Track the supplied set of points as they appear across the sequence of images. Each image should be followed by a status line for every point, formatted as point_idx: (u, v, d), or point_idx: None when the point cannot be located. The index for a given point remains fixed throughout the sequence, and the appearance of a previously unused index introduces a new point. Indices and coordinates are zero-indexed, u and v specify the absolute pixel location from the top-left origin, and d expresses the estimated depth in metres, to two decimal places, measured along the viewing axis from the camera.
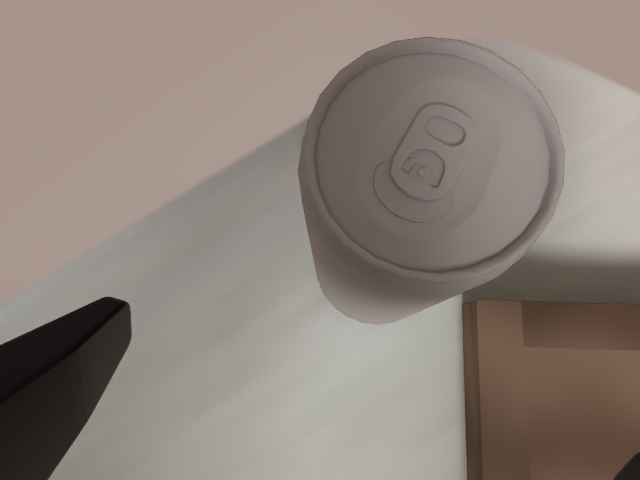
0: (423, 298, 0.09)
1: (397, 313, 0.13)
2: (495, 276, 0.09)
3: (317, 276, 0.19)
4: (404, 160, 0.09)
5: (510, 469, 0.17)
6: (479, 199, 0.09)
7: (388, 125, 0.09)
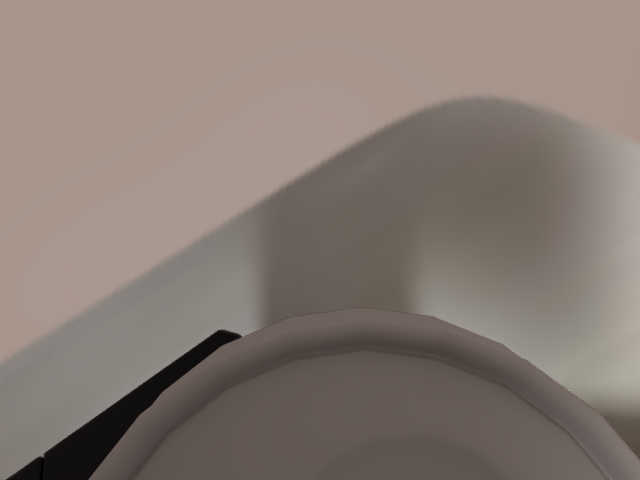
0: None
1: None
2: None
3: None
4: None
5: None
6: None
7: None
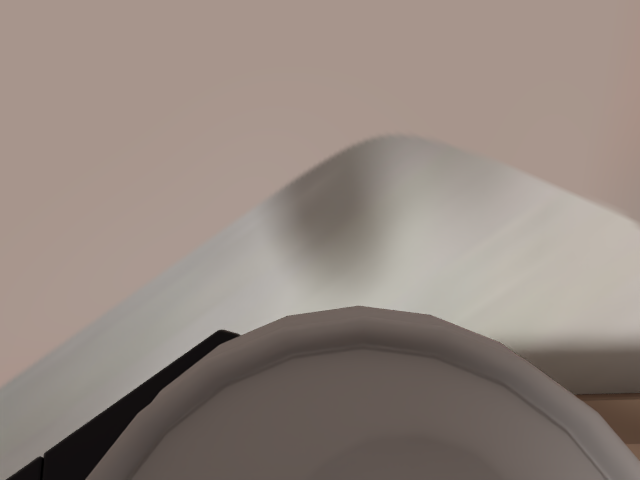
0: None
1: None
2: None
3: None
4: None
5: None
6: None
7: None
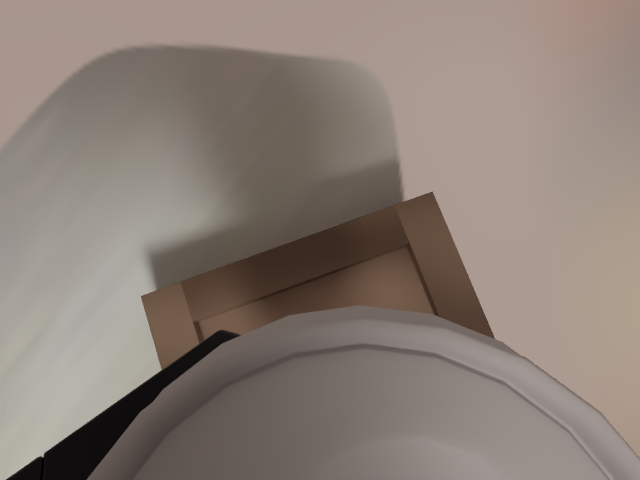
0: None
1: None
2: None
3: None
4: None
5: None
6: None
7: None
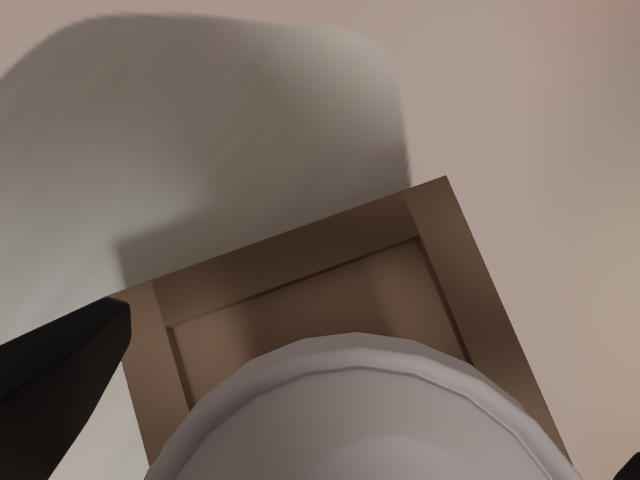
0: None
1: None
2: None
3: None
4: None
5: None
6: None
7: None
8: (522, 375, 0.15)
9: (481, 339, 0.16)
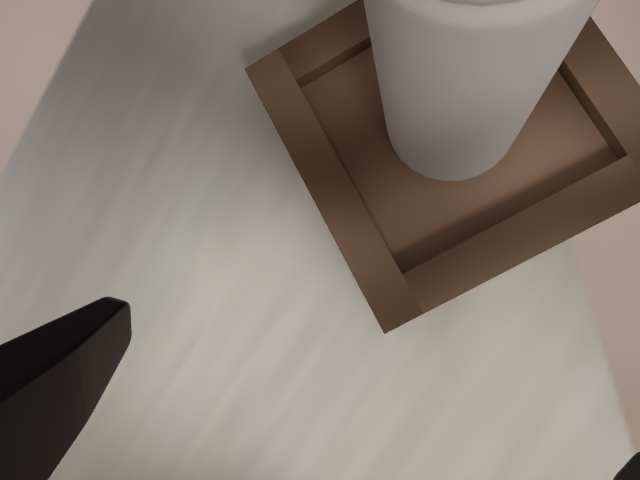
0: (508, 45, 0.09)
1: (481, 125, 0.13)
2: None
3: (391, 138, 0.18)
4: None
5: (327, 174, 0.19)
6: None
7: None
8: (604, 52, 0.18)
9: None
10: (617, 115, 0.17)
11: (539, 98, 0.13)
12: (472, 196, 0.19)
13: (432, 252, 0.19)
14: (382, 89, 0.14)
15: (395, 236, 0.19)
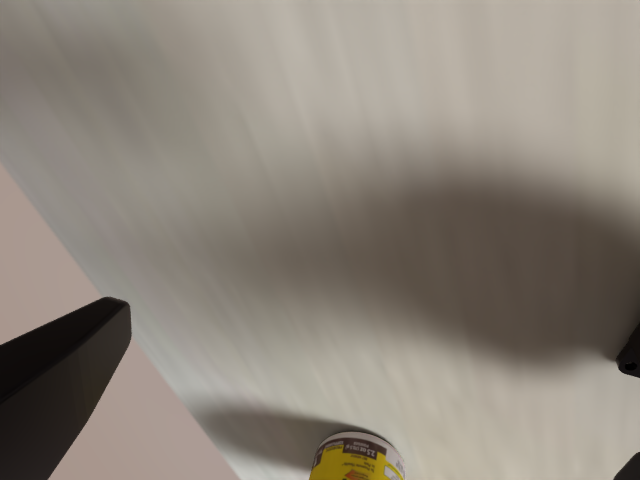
0: None
1: None
2: None
3: None
4: None
5: None
6: None
7: None
8: None
9: None
10: None
11: None
12: None
13: None
14: None
15: None
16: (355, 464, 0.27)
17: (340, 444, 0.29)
